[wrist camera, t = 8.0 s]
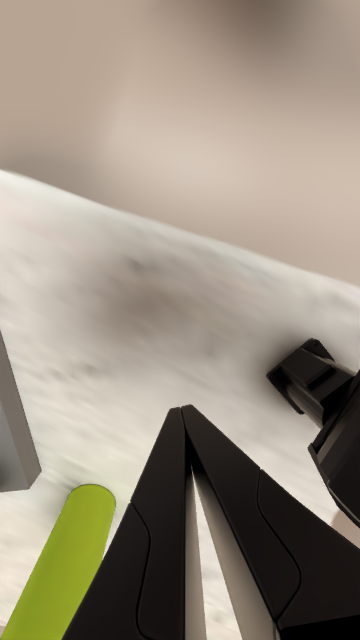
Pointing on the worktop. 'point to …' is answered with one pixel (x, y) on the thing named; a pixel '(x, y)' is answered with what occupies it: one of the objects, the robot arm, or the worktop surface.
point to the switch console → (14, 434)
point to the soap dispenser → (64, 567)
